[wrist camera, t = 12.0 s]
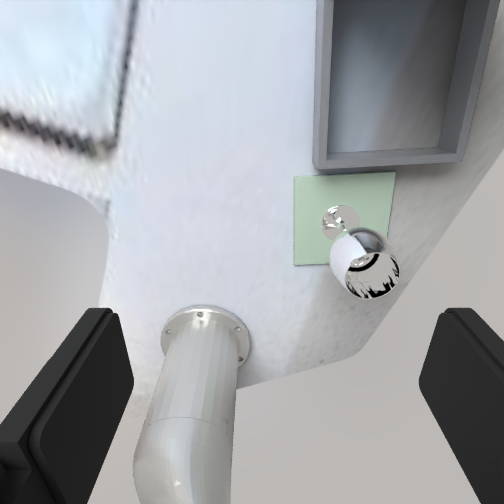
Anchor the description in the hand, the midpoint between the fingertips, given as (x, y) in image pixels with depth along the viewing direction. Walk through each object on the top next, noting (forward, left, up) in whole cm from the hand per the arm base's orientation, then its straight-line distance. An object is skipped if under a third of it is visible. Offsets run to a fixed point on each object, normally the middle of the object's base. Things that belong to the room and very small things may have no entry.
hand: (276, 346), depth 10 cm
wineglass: (-8, -9, -28) cm, 31 cm away
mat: (-8, -9, -29) cm, 31 cm away
